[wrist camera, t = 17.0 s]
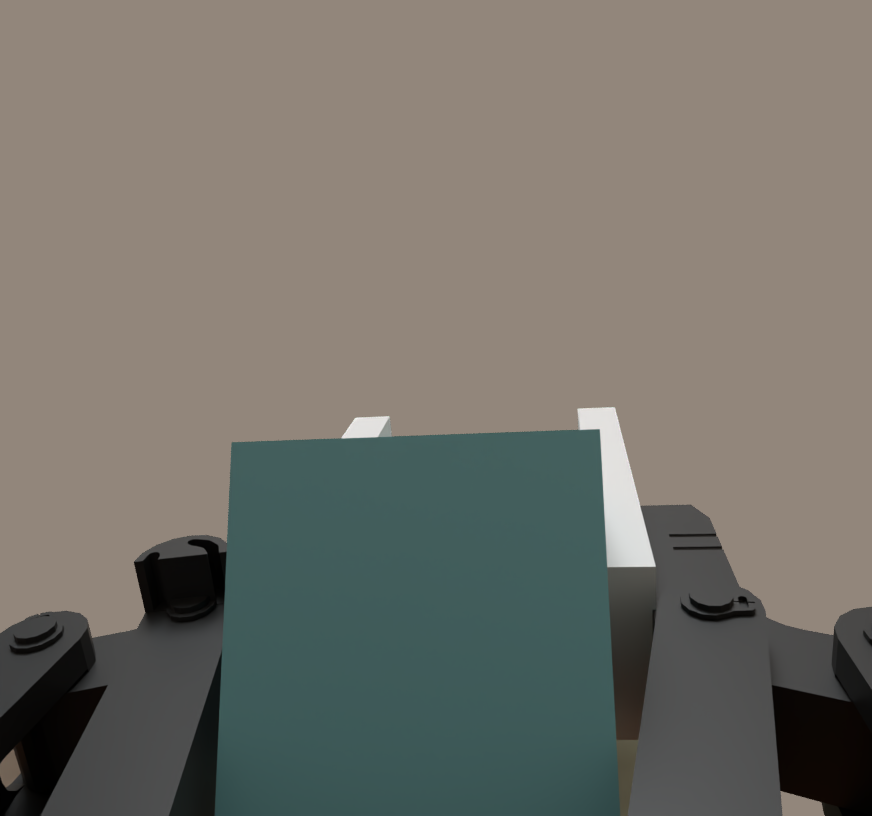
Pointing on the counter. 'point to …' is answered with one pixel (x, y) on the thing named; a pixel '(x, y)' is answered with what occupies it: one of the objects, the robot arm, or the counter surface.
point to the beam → (417, 628)
